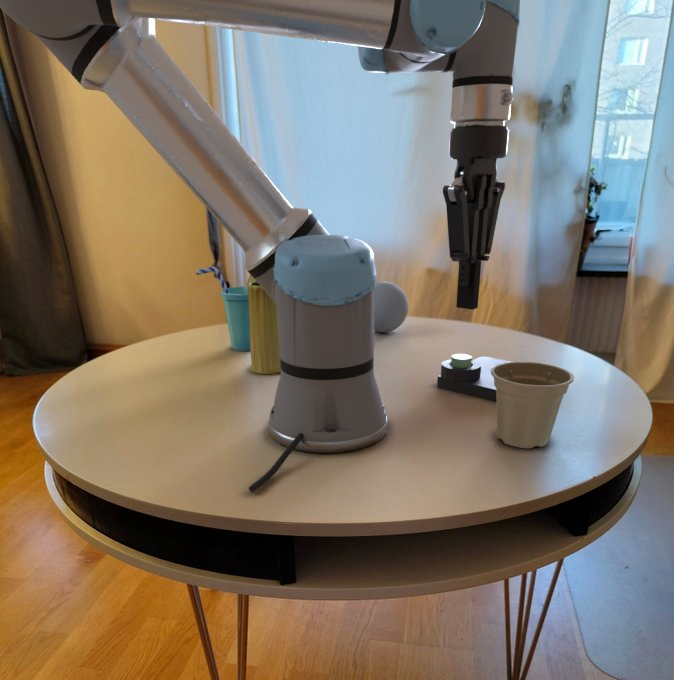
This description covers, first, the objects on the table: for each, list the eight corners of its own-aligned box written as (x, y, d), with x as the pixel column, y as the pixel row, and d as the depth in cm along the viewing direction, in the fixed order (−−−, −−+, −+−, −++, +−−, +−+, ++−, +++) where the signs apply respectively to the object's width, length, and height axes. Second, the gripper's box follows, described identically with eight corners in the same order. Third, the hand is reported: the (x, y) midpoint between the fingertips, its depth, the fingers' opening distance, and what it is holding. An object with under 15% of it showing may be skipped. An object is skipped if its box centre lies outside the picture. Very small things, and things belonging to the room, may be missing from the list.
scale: (513, 406, 86) (516, 383, 85) (432, 387, 94) (434, 365, 93) (555, 380, 96) (558, 359, 95) (479, 365, 104) (481, 344, 103)
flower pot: (553, 425, 80) (563, 361, 76) (571, 456, 72) (583, 386, 68) (480, 423, 81) (486, 360, 77) (489, 454, 73) (496, 384, 69)
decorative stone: (362, 325, 131) (362, 277, 127) (409, 326, 129) (411, 278, 125) (355, 337, 122) (355, 286, 118) (405, 338, 120) (407, 287, 116)
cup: (201, 354, 112) (192, 270, 106) (206, 343, 119) (197, 263, 113) (278, 351, 113) (273, 268, 107) (278, 340, 120) (273, 261, 114)
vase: (282, 362, 107) (278, 278, 101) (291, 372, 102) (286, 285, 96) (248, 365, 106) (241, 281, 99) (254, 376, 100) (248, 287, 94)
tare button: (464, 370, 91) (465, 360, 91) (447, 367, 93) (447, 357, 93) (474, 366, 93) (475, 356, 93) (457, 362, 95) (458, 352, 95)
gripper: (480, 122, 73) (466, 319, 83) (528, 125, 82) (511, 303, 92) (427, 125, 77) (420, 312, 87) (478, 128, 86) (467, 297, 96)
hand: (467, 307), depth 90 cm, fingers closed
